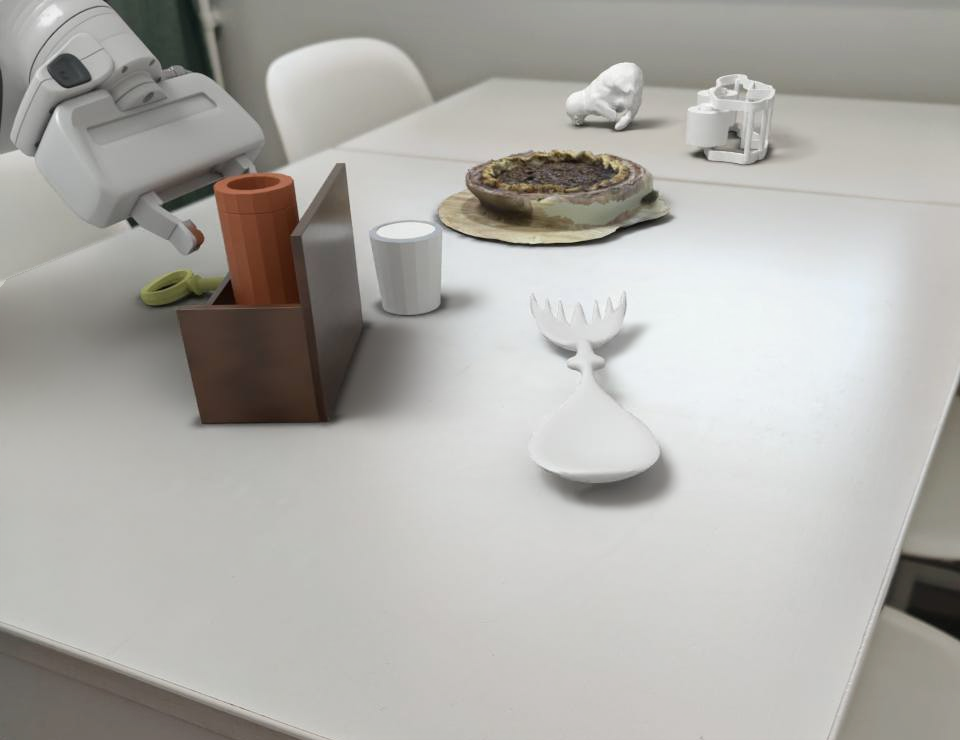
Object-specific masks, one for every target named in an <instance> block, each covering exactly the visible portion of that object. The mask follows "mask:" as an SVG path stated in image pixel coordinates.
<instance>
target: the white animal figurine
mask: <svg viewBox="0 0 960 740" xmlns="http://www.w3.org/2000/svg"><path fill="white" fill-rule="evenodd" d="M644 85H645V83H644V73H643V71H642V69H641V67H639V66H638V65H637V64H636V63H635V62H629V61H626V62H619V63H615V64H614V65H611V66H610V67H608V68H607V69H605V70H604V71H602V72H601V73H600V74H599V75H598V76H597V77H596V78H595V79H593V80H592V82H591V83H590V84H589V85H588V86H586V87H585V88H584V89H582V90H578V91H575V92H573V93H571V94H570V95H569V96H568V97H567V99H566V100H565V112H566V113H565V114H566V115H567V116H568V118H570V120H571V122H572V123H573V125H574V126H580V125H583V124H584V123H585V121H586V118H587V117H588V116H590V115H593V116H597V117H603V118H605V119H607V120H610V121H615V120H616V119H617V117H618V114H621V113H623V112H625V113H624V114H623V115H622V117H620V118H619V119H618V120H617V122H616V123H615V125H614V129H615V131H618V132H619V131H622V130H624V129H625V128H627V126H629V124H630V123H632V121H633V120H634V119H635V117H636V116H637V115H638V112H639V110H640V107H641V106H642V102H643V92H644V87H645V86H644Z"/></svg>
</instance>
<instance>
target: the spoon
mask: <svg viewBox="0 0 960 740" xmlns="http://www.w3.org/2000/svg"><path fill="white" fill-rule="evenodd" d="M529 298H530V300H529V307H530V311H531V314H532V317H533V319H534V322H535V324H536V326H537V329H538V330H539V331H540V333H541V334H542V335H543V336H544V338H546V339H547V340H548V341H549V342H550V343H553V344H555V345H556V346H558V347H559V348H562V349H565V350H568V351H572V352H576V353H575V355H574V356H572V357H569V358H568V359H567V360H566V363H565V364H566V367H567V368H568V369H570V370H572V371H576V372H578V373H580V380H579V382H578V385H577V387H576V388H575V389H574V391H573V392H572V393H571V394H570V395H569V396H568V397H566V399H564V400H563V401H562V402H561V403H560V404H558V406H557V407H556V408H555V409H554V410H553V411H551V412H550V413H549V414H548V415H547V416H546V417H545V418H543V420H541V421H540V423H538V424H537V426H536V427H535V429H534V430H533V432H532V434H531V437H530V438H529V439H530V440H529V442H528V454H529V456H530V458H531V459H532V461H533V462H534V463H535V464H536V465H537V466H539V467H540V468H541V469H543V470H544V471H546V472H548V473H550V474H551V475H554V476H558V477H560V478H563V479H566V480H569V481H575V482H580V483H586V484H588V483H590V484H604V483H606V484H607V483H613V482H619V481H624V480H626V479H629V478H632V477H635V476H637V475H639V474H641V473H643V472H645V471H647V470H649V469H650V468H651V467H652V466H653V465H654V464H655V463H656V462H657V461H658V460H659V458H660V455H661V448H660V445H659V443H658V440H657V438H656V436H655V434H654V433H653V431H652V430H651V429H650V428H649V426H648V425H647V424H646V423H645V422H643V421H642V420H641V419H640V418H639V417H637V416H636V415H634V413H632V412H631V411H630V410H628V409H627V408H626V407H624V406H623V405H622V404H620V403H619V402H618V401H617V400H616V399H615V398H613V397H612V396H610V395H609V394H608V393H607V392H606V391H605V390H604V389H603V388H602V386H600V384H599V383H598V381H597V378H596V376H595V372H596V371H599V370H602V369H603V368H605V367H606V365H607V361H606V359H605V358H604V357H602V356H600V355H598V354H595V352H594V350H596V349H598V348H600V347H602V346H604V345H606V344H607V343H609V342H610V341H612V340H613V339H614V338H615V337H616V336H617V334H618V333H619V332H620V331H621V329H622V326H623V324H624V321H625V317H626V312H627V307H628V305H627V302H628V301H627V293H626V291H625V290H622V292H621V294H620V299H619V302H618V306H617V307H615V309H614V307H613V303H612V299H611V297H610V296H608V297H607V299H606V307H605V312H604V316H603V317H602V316H601V312H600V307H599V303H598V300H597V299H595V300H594V301H593V302H594V303H593V309H592V316H591V320H590V323H589V324H588V322H587V319H586V315H585V311H584V308H583V305H582V304H581V303H580V302H579V301H576V303H575V305H574V307H573V311H572V316H571V322H570V323H568V321H567V319H566V314H565V311H564V306H563V303H562V301H561V300H558V304H557V313H556V314H557V315H556V316H554V314H553V311H552V307H551V305H550V302H549V301H550V300H549V299H548V298H545V303H544V307H543V309H542V308H541V307H540V305H539V304H538V301H537V299H536V295H534V293H531V294H530V297H529Z"/></svg>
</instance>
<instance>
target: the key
mask: <svg viewBox="0 0 960 740" xmlns="http://www.w3.org/2000/svg"><path fill="white" fill-rule="evenodd" d="M224 278H225V276H218V277H217V276H215V277H214V276H213V277H204V278H203V277H201V276H200V275H199V274H195V273H194V271H193V270H192V269H186V268H185V269H178V270H173V271H170V272H167V273H166V274H163V275H161V276H159V277H157V278H155V279H154V280H152V281H150V283H147V285H145V286H144V287H143V288H142V289H141V290H140V298H141V300H142V301H143V303H144V304H145V305H148V306H161V305H165V304H170V303H172V302H174V301H177V300H180V299H182V298H184V297H186V296H187V295H188V294H190V293H194V294H195V295H196V296H201V295H203V293H204V292H206V291H207V292H209V291H215V290H216V289H217V287H218V286H219V285H220V283H221V282H222V280H223V279H224ZM167 286H170V287H168V288H165V289H162V288H163V287H167ZM159 289H161V290H159Z"/></svg>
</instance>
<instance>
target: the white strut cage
mask: <svg viewBox="0 0 960 740" xmlns="http://www.w3.org/2000/svg"><path fill="white" fill-rule="evenodd" d="M729 85H734V87H733V89H728V88H727V87H725V86H729ZM741 85H742V88H743V89H744V90H747V92H746V95H745V100H740V92H741V91H740V90H741ZM775 97H776V88H774V86H773V85H770V84H765V83H763V82H760V81H759V80H758V81H757V80H754V79H753V80H752V79H749V78H748V76H747V75H746V74H743V73H736V74H735V73H734V74H727V75H723V76H720V77H718V78H717V79H716V80H715V86H712V87H709V89H702V90H699V91H698V92H697V94H696V104H695V105H692V106H689V107H688V108H687V115H686V126H685V135H684V136H685V137H684V143H685V144H686V145H688V146H692V147H697V148H699V149H703V154H704V155H705V157H706V159H707V160H708V161H712V162H726V163H735V164H738V165H750V164H754V163H755V162H757V161H761V160H764V158H765V157H766V155H767V152H768V147H769V143H770V136H771V135H770V134H771V129H772V127H771V126H772V119H773V112H774V111H773V110H774V103H775ZM755 100H757V101H755ZM738 112H743V119H742V120H743V121H742V124H741V123H740V122H737V120H738V119H737V118H738ZM758 112H762V114H761V121H760V130H759V133H758V132H756V131H754V125H755V117H756V113H758ZM729 132H735V133H736V136H737V137H738V138H740V149H743V153H740V152H734V151H726V150H725V151H724V150H713V149H712V148H715V147H719V146H724V145H726V144H727V143H728V137H729ZM751 150H754V151H752V152H751Z"/></svg>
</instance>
